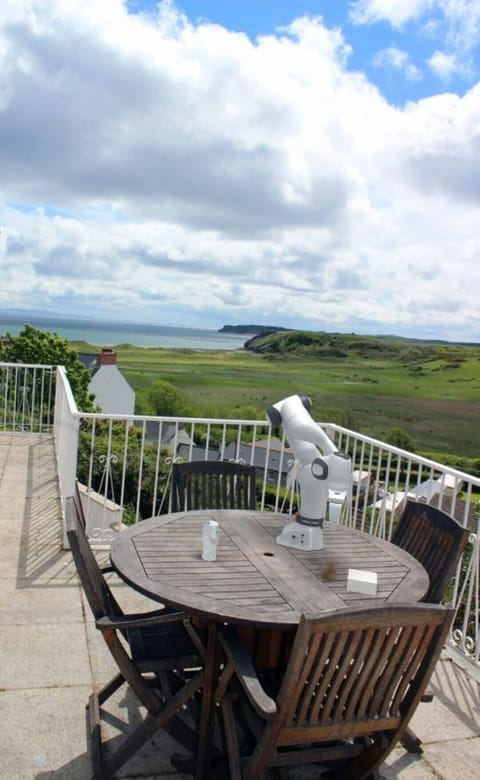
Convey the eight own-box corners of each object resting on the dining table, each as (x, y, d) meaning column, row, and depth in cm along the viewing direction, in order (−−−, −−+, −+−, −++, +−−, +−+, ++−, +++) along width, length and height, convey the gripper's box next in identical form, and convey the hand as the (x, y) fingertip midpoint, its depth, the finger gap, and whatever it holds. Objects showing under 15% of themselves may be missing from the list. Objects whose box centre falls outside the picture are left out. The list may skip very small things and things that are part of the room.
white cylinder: (219, 557, 239) (222, 523, 238) (212, 562, 233) (215, 527, 232) (205, 554, 242) (208, 519, 241) (197, 558, 236) (200, 523, 235)
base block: (346, 591, 217) (347, 578, 217) (347, 580, 228) (348, 568, 228) (375, 596, 215) (377, 583, 215) (375, 585, 226) (376, 573, 225)
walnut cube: (321, 579, 226) (323, 567, 226) (322, 574, 231) (324, 562, 231) (334, 581, 225) (335, 569, 225) (335, 576, 230) (336, 564, 230)
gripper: (331, 486, 237) (328, 519, 238) (327, 497, 217) (324, 533, 218) (346, 488, 235) (343, 521, 236) (344, 500, 215) (340, 535, 216)
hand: (334, 527), depth 227 cm, fingers open, 8 cm apart
